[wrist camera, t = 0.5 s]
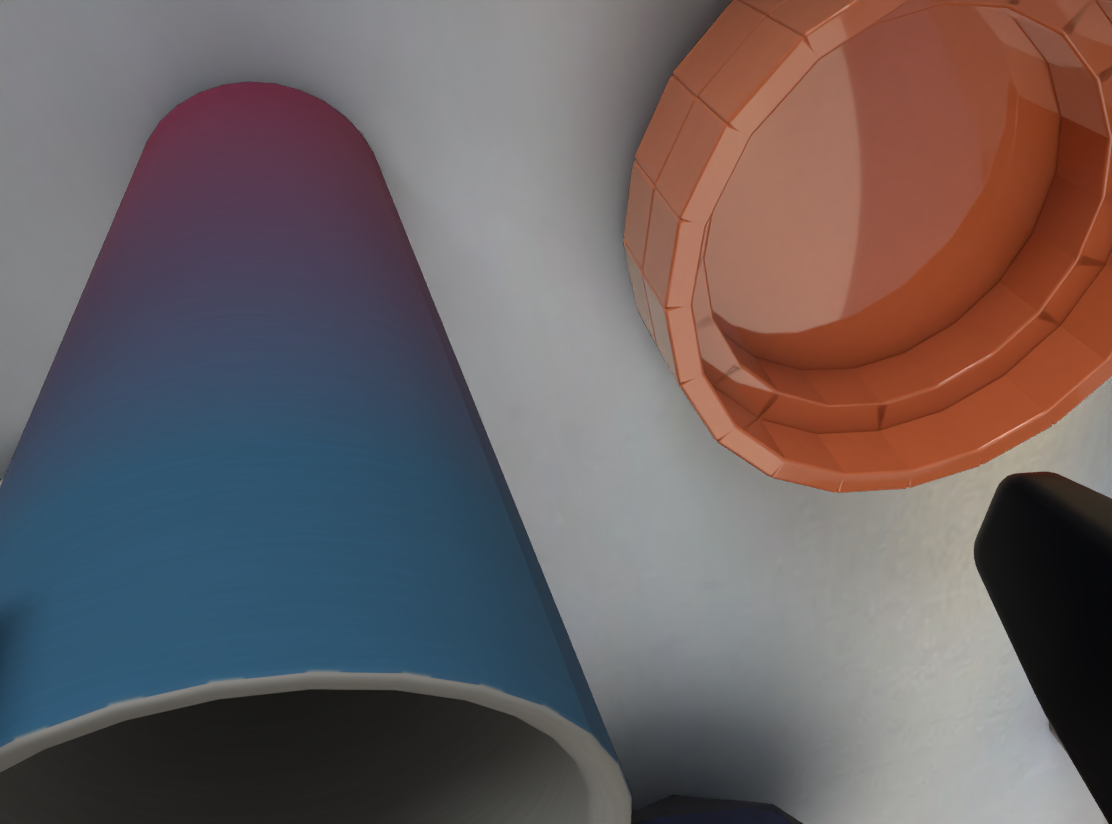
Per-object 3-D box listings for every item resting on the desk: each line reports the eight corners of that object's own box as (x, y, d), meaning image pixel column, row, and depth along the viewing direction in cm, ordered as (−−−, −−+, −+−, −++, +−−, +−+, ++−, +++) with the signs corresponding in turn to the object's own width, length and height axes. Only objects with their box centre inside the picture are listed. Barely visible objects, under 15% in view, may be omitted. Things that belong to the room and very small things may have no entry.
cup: (252, 382, 22) (245, 1113, 11) (8, 168, 18) (-411, 1001, 7) (483, 225, 21) (739, 853, 10) (283, -43, 17) (335, 529, 6)
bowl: (999, 394, 27) (1088, 478, 24) (594, 411, 25) (633, 507, 22) (1187, -70, 21) (1345, -41, 17) (658, -109, 18) (727, -84, 15)
